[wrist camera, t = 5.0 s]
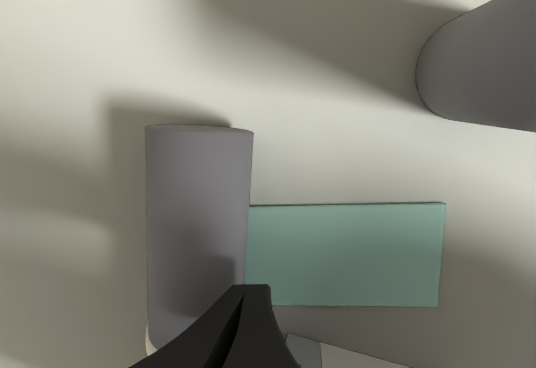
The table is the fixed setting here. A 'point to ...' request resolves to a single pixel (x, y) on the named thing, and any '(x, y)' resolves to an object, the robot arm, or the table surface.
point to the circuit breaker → (331, 355)
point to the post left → (193, 222)
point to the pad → (347, 254)
